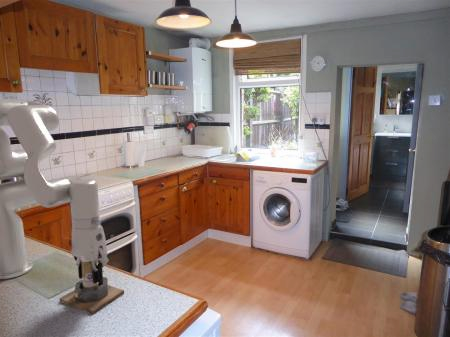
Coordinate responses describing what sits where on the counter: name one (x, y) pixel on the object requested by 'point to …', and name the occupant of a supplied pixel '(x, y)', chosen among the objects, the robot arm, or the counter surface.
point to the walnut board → (92, 306)
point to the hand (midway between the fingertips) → (90, 278)
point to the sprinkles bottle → (87, 274)
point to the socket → (91, 292)
